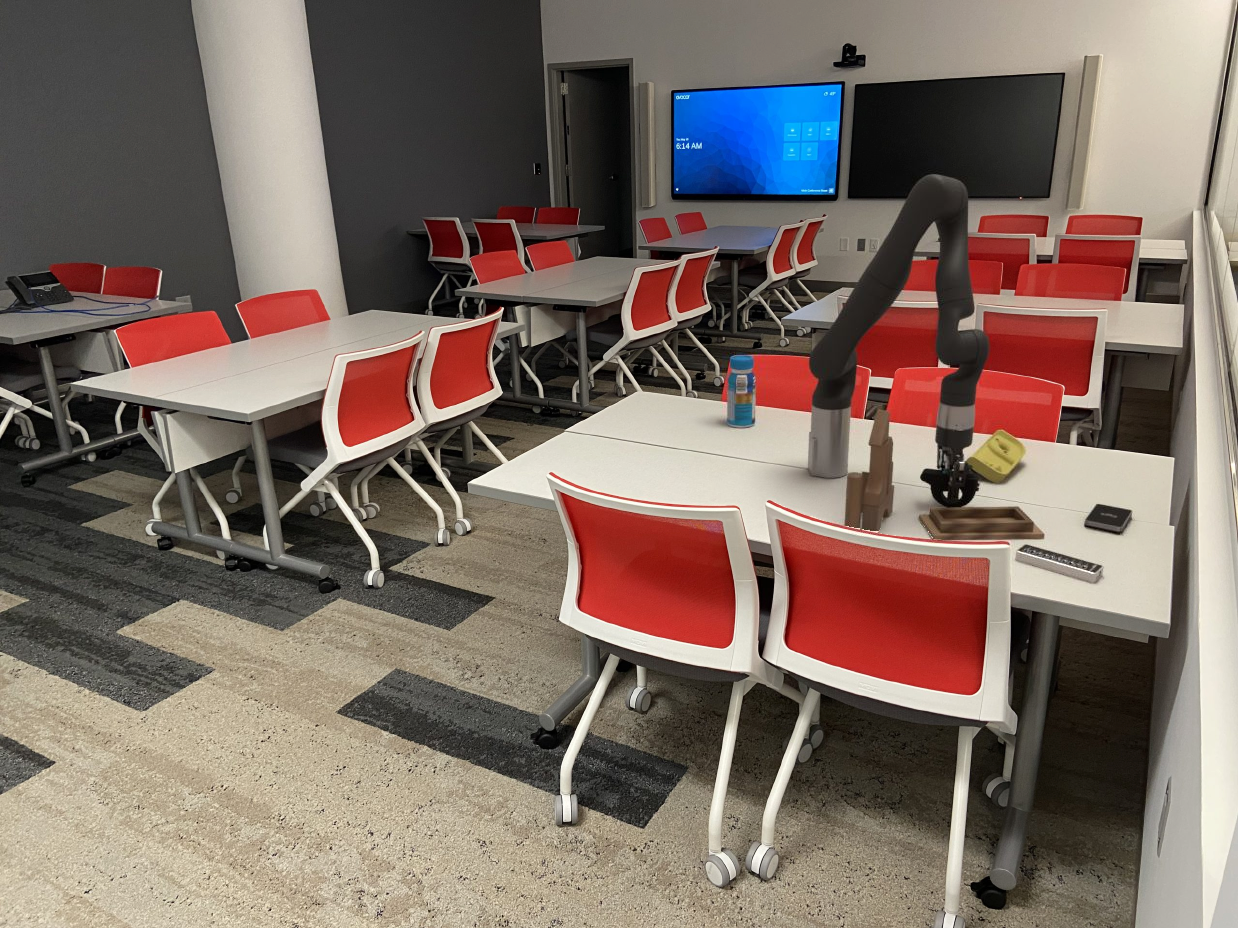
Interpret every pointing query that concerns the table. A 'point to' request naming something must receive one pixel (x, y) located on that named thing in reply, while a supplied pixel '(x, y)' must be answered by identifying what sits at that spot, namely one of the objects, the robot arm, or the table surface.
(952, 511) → the cradle
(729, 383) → the beverage bottle
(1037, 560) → the multiport hub
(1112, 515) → the external hard drive
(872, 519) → the wooden toy
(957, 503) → the controller
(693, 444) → the table surface
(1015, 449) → the plastic component
